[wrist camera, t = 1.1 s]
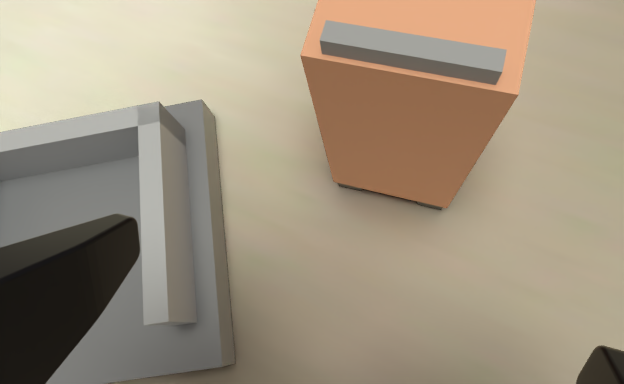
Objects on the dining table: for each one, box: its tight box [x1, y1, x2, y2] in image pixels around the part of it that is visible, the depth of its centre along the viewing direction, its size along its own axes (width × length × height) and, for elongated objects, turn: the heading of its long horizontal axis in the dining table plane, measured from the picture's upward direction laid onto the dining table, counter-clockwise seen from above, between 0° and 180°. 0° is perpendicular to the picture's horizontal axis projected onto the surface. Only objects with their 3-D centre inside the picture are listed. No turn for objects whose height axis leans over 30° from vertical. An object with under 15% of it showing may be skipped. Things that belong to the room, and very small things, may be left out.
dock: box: [0, 100, 235, 384], centre depth 22 cm, size 13×13×5 cm
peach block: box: [300, 0, 536, 210], centre depth 17 cm, size 4×6×13 cm
